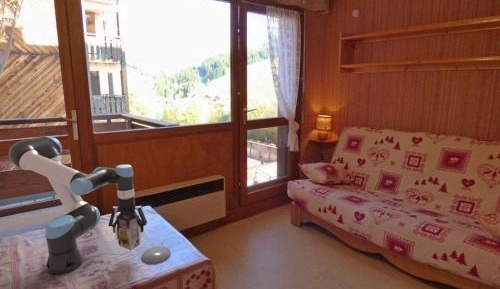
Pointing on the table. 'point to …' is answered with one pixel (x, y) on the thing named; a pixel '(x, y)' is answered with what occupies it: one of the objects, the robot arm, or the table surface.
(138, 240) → the coffee box
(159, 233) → the table surface
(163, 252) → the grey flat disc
